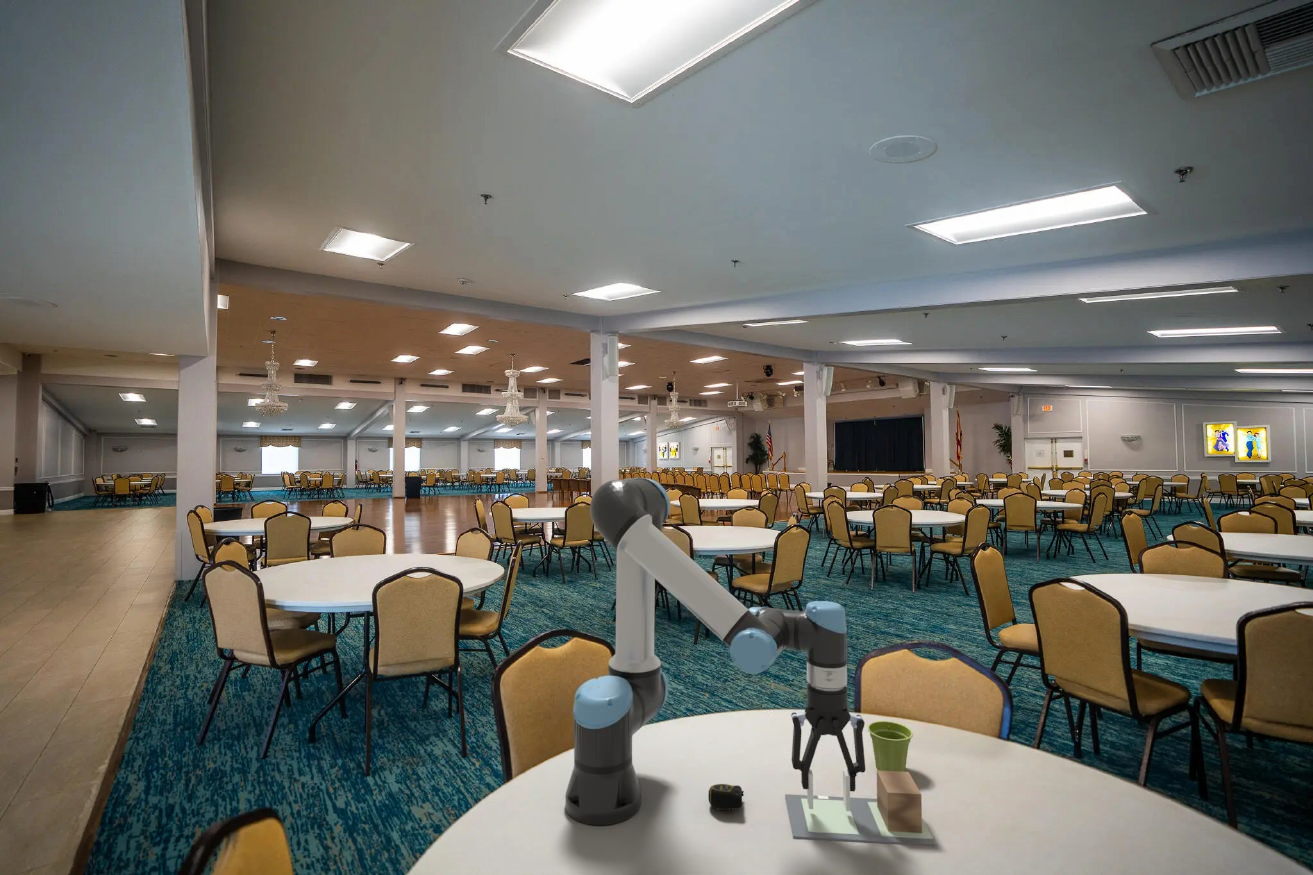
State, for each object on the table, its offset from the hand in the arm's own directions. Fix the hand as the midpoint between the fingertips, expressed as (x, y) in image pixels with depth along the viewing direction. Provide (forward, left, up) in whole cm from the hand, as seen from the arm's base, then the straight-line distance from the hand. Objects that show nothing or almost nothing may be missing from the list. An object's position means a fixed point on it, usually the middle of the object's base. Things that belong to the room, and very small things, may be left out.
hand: (828, 805), depth 119 cm
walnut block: (+13, 0, -2) cm, 13 cm away
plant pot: (+17, +21, -3) cm, 27 cm away
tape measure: (-17, 0, -2) cm, 17 cm away
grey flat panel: (+5, 0, -3) cm, 6 cm away
